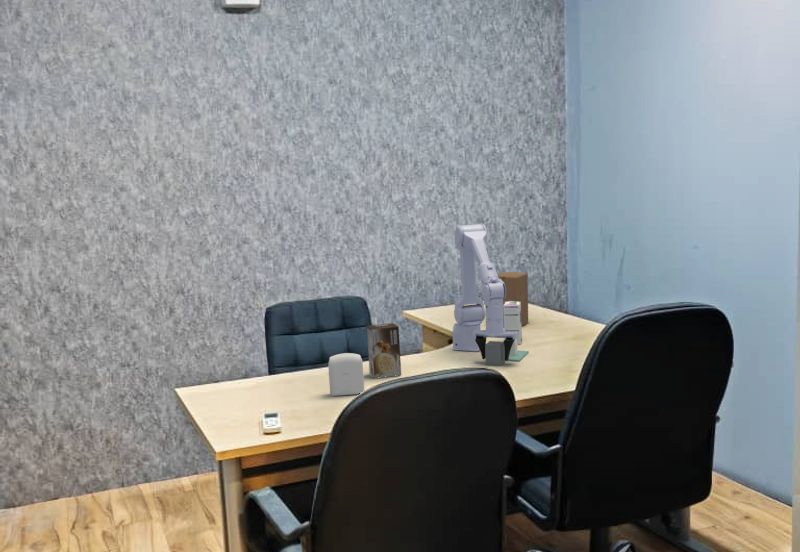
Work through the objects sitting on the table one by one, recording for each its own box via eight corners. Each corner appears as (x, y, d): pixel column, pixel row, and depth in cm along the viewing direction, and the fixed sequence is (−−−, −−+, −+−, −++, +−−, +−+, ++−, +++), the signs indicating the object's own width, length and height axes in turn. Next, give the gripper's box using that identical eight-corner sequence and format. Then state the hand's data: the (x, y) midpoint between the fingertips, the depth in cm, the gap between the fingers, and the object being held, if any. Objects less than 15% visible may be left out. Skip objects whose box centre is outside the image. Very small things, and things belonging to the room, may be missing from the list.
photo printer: (330, 397, 278) (327, 356, 276) (329, 393, 282) (327, 352, 280) (364, 394, 279) (362, 354, 277) (363, 390, 283) (362, 350, 281)
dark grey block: (485, 364, 307) (485, 344, 306) (490, 360, 312) (489, 340, 311) (501, 365, 305) (500, 345, 304) (505, 361, 310) (504, 341, 309)
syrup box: (520, 344, 332) (520, 304, 330) (504, 344, 334) (503, 304, 331) (522, 340, 338) (521, 301, 335) (505, 340, 339) (504, 301, 337)
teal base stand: (496, 360, 313) (495, 342, 312) (505, 351, 323) (505, 334, 322) (519, 361, 310) (519, 343, 309) (528, 352, 320) (528, 335, 319)
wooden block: (518, 329, 357) (517, 277, 353) (494, 326, 362) (493, 275, 358) (528, 323, 365) (528, 272, 362) (505, 321, 370) (504, 271, 367)
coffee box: (396, 371, 304) (394, 322, 301) (401, 376, 298) (399, 326, 295) (368, 374, 302) (366, 325, 299) (373, 379, 296) (371, 329, 293)
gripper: (469, 320, 305) (470, 360, 307) (512, 322, 300) (513, 363, 302) (476, 315, 312) (477, 355, 314) (518, 317, 306) (519, 358, 308)
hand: (495, 359), depth 308 cm, fingers open, 7 cm apart
